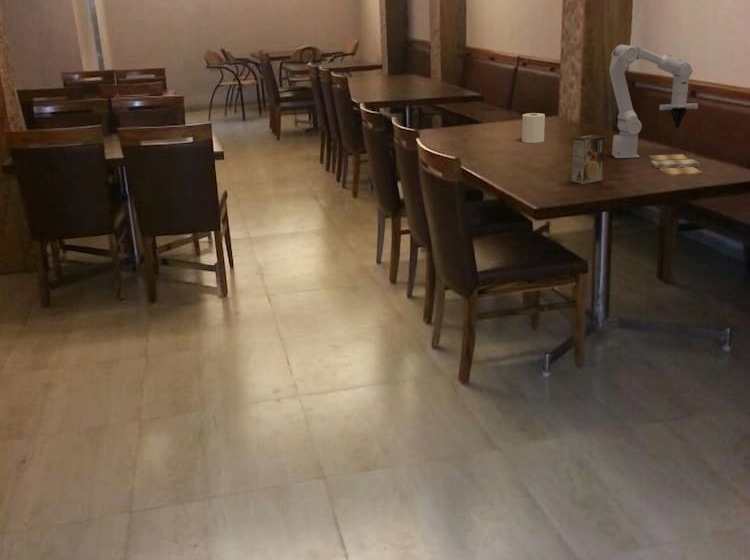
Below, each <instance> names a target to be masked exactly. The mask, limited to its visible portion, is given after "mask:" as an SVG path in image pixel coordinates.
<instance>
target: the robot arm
mask: <svg viewBox="0 0 750 560" xmlns="http://www.w3.org/2000/svg"><path fill="white" fill-rule="evenodd" d="M610 55H611V60H610V65H609V68H608V71H609V76H610V77H609V78H610V81H611V83H612V88H613V92H614V93H613V94H614V96H615V101H616V105H617V108H618V114H617V119H618V120H617V124H616V125H617V126H616V127H617V129H618V130H619V134H614V135H613V139H612V151H611V155H612V156H613V157H614V158H615V159H626V158H628V159H629V158H633V159H634V158H640V155H639V154H637V153H638V142H639V141H638V139H639V133H640V132H641V130H642V128H643V126H642V125H643V124H642V122H641V121H640V120H639V118H638V115H637V114H636V112H635V111H634V107H633V104H632V100H631V95H630V91H629V86H628V82H627V79H626V75H625V72H626V71H627V69H628V67H630V66H631V65H632V64H633V63H634V62H635V61H636V60H638V61H639V60H645V61H647V62H650V63H653V64H655V65H656V67H657V69H659V70H661V71H664V72H665V73H669V74H670V75H672V76H673V80H672V90H671V91H672V93H671V103H666V104H665V103H664V104H659V108H658V109H659V110H660V111H666V110H669V111H670V114H671V117H672V121H673V127H674V128H680V125H681V122H682V120H683V118H684V116H685V115H686V113H687V110H689V109H690V110H692V109H693V110H694V109H695V110H698V108H699V103H696V102H695V103H693V102H692V103H690V102H688V103H687V101H688V91H689V81H690V77H691V76H692V74H693V71H694V70H693V69H692V65H691V64H690V63H689V62H682V59H680V58H678V59H676V58H675V57H672V54H668V53H667V54H662V55H661V56H660V55H658V54H656V53H654V52H652V51H650V50H648V49H645V48H643V47H638V46H635V45H627V44H623V43H622V44H618V45H617V46H616V47H615V48H614V49H613V50H612V53H611V54H610Z"/></svg>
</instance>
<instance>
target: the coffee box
mask: <svg viewBox="0 0 750 560" xmlns="http://www.w3.org/2000/svg"><path fill="white" fill-rule="evenodd" d="M572 140H573V141H572V166H571V167H572V169H571V170H572V172H571V182H574V183H577V184H581V185H586V184H590V183H596V182H601V181H603V173H604V172H603V170H604V169H603V168H604V150H605V147H604V146H605V136H602V135H596V134H587V135H582V136H575V137H573V138H572Z"/></svg>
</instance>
